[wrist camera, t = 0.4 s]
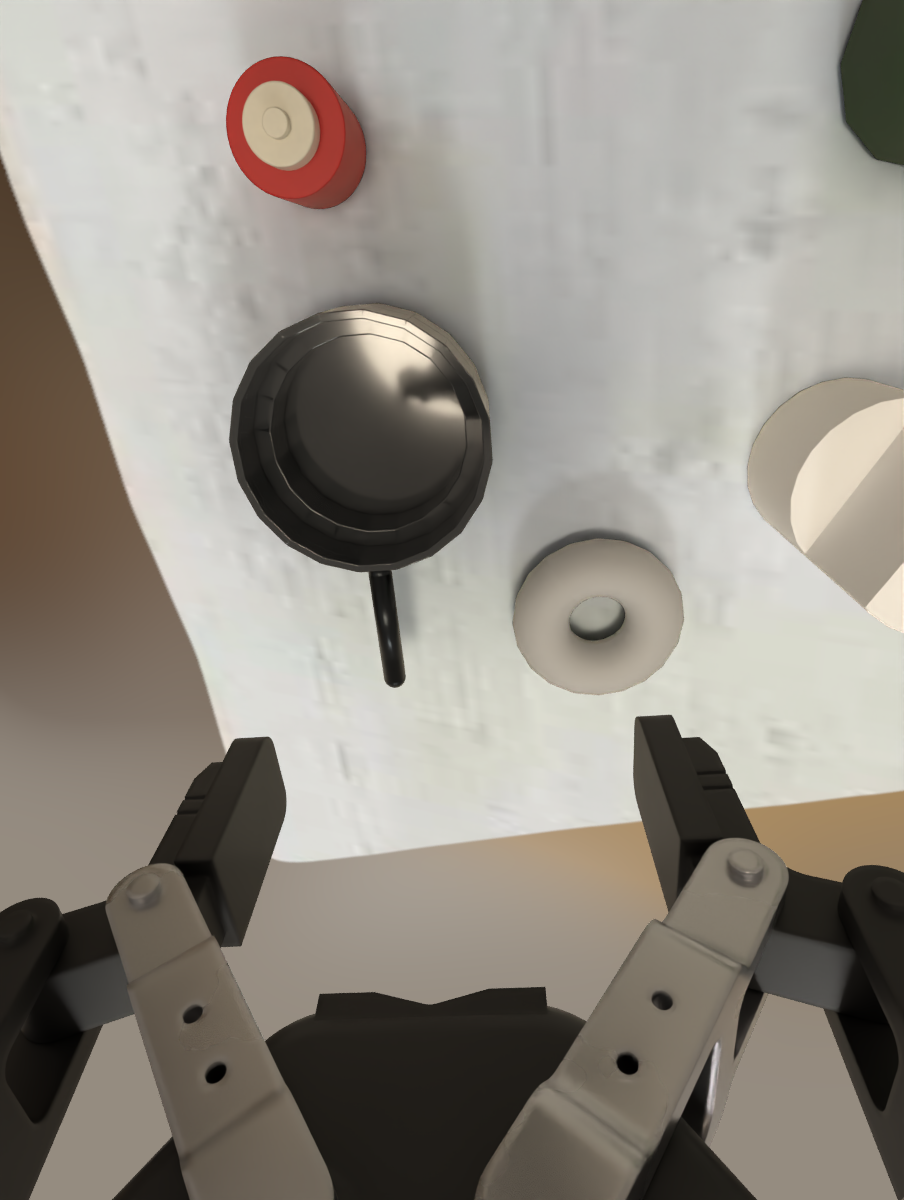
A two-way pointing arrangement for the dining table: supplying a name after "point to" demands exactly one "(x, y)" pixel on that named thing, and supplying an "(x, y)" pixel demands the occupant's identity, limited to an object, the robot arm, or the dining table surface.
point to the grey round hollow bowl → (363, 437)
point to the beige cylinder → (839, 487)
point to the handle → (387, 627)
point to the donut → (591, 575)
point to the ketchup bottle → (295, 134)
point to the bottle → (876, 78)
